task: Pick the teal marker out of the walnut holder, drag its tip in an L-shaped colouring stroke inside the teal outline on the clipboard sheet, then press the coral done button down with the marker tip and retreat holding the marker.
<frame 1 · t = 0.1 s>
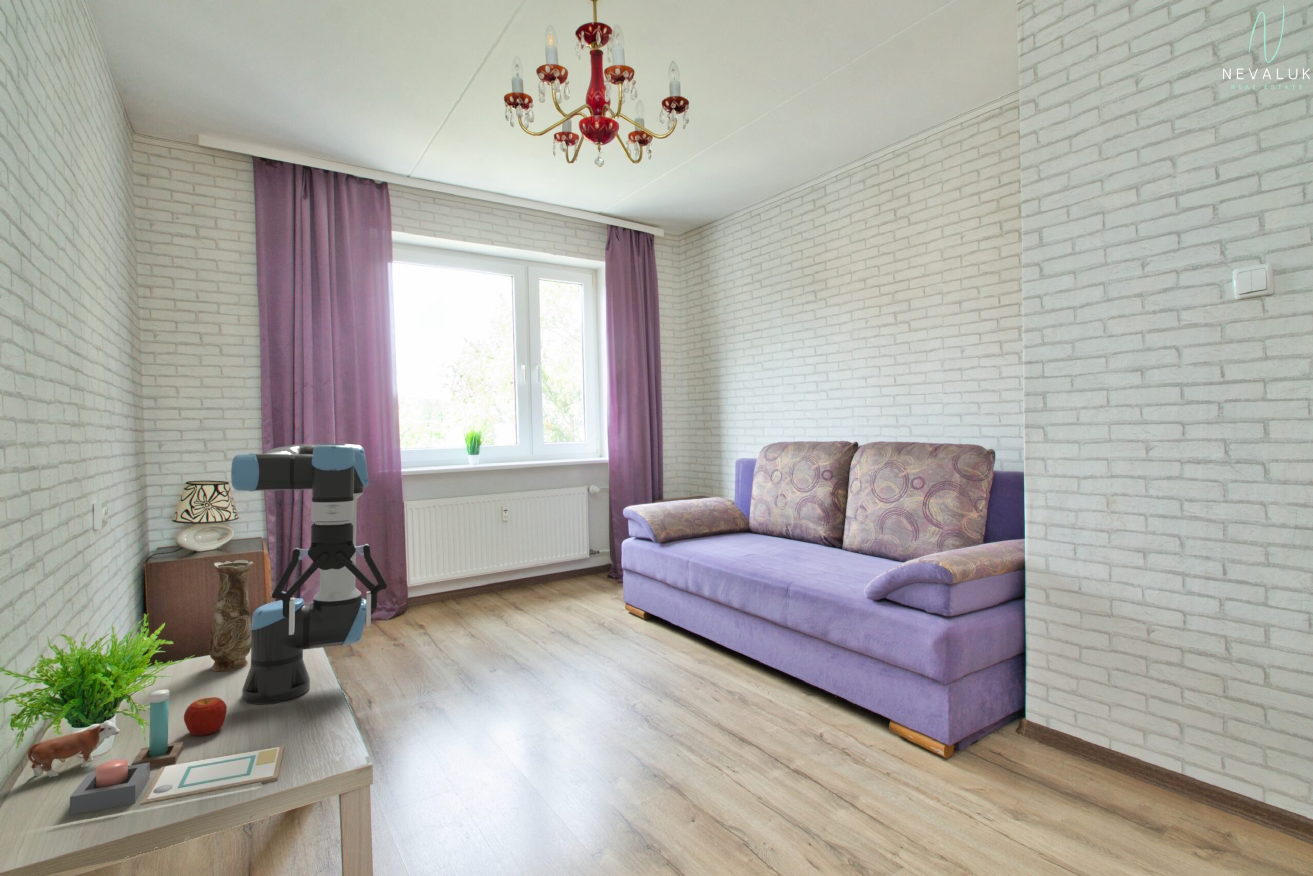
hand: (330, 629, 127), 28 cm above the table, fingers open, 13 cm apart
bull figurine: (74, 770, 126), on the table
button housing: (111, 798, 116), on the table
done button: (112, 773, 116), point 4 cm above the table, slide at 0.0 cm
vase: (230, 666, 184), on the table
apple: (205, 734, 141), on the table
marker holder: (158, 761, 129), on the table
colouring sheet: (218, 775, 124), on the table
marker: (158, 759, 129), resting on marker holder
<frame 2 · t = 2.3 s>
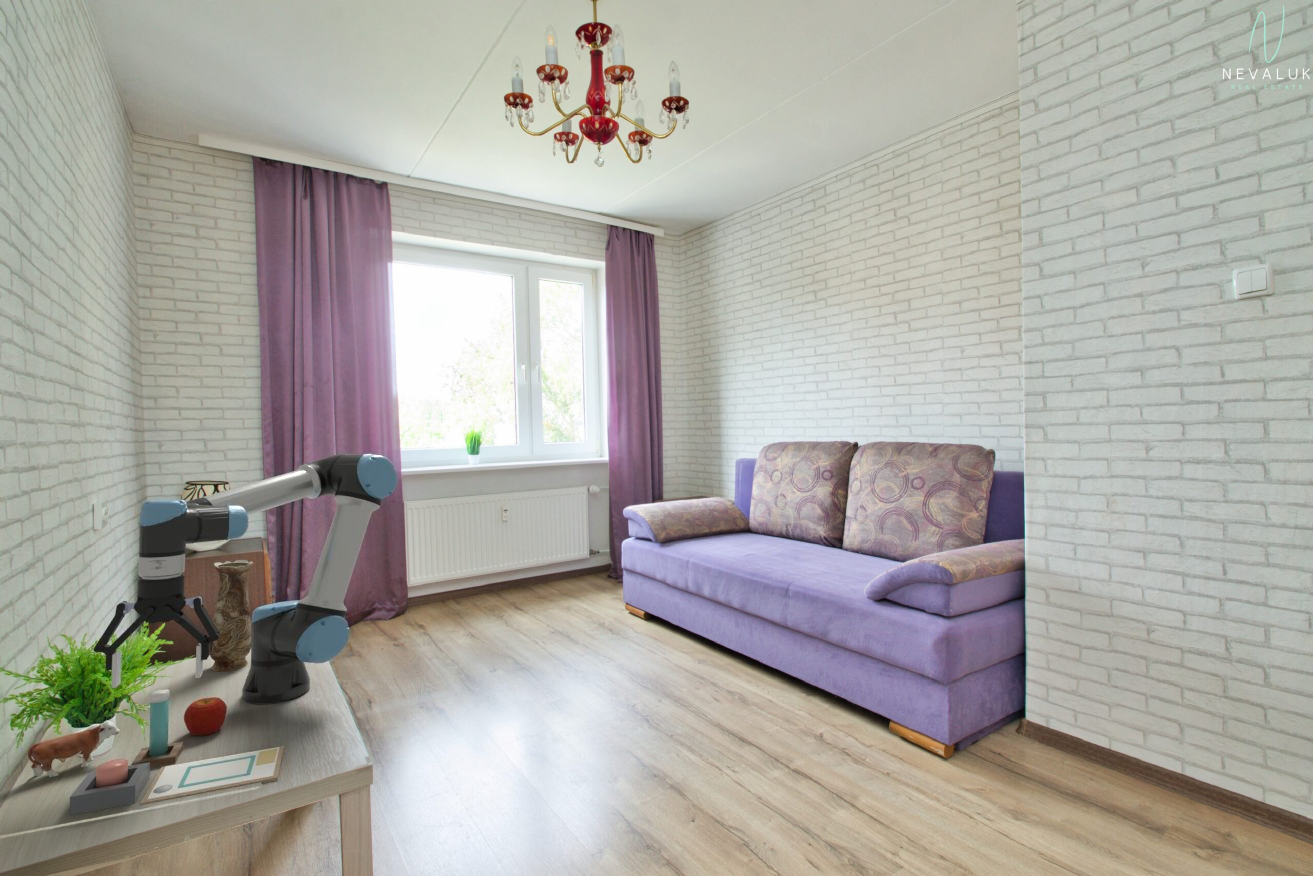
hand: (158, 681, 129), 16 cm above the table, fingers open, 13 cm apart
nothing on the table moved.
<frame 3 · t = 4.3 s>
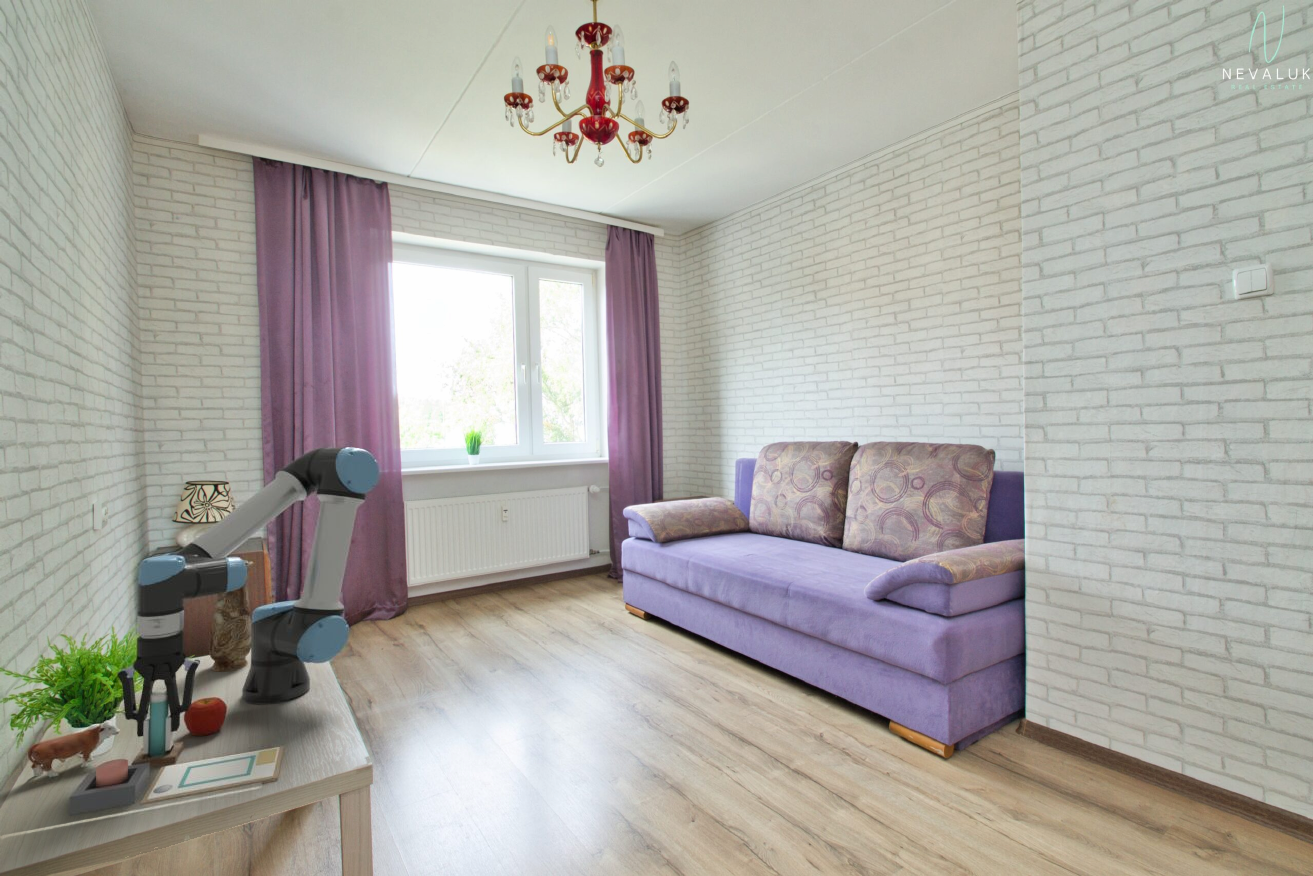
hand: (158, 749, 129), 2 cm above the table, fingers closed on marker, 3 cm apart
marker: (158, 759, 129), resting on marker holder, touching gripper
everything else where it was.
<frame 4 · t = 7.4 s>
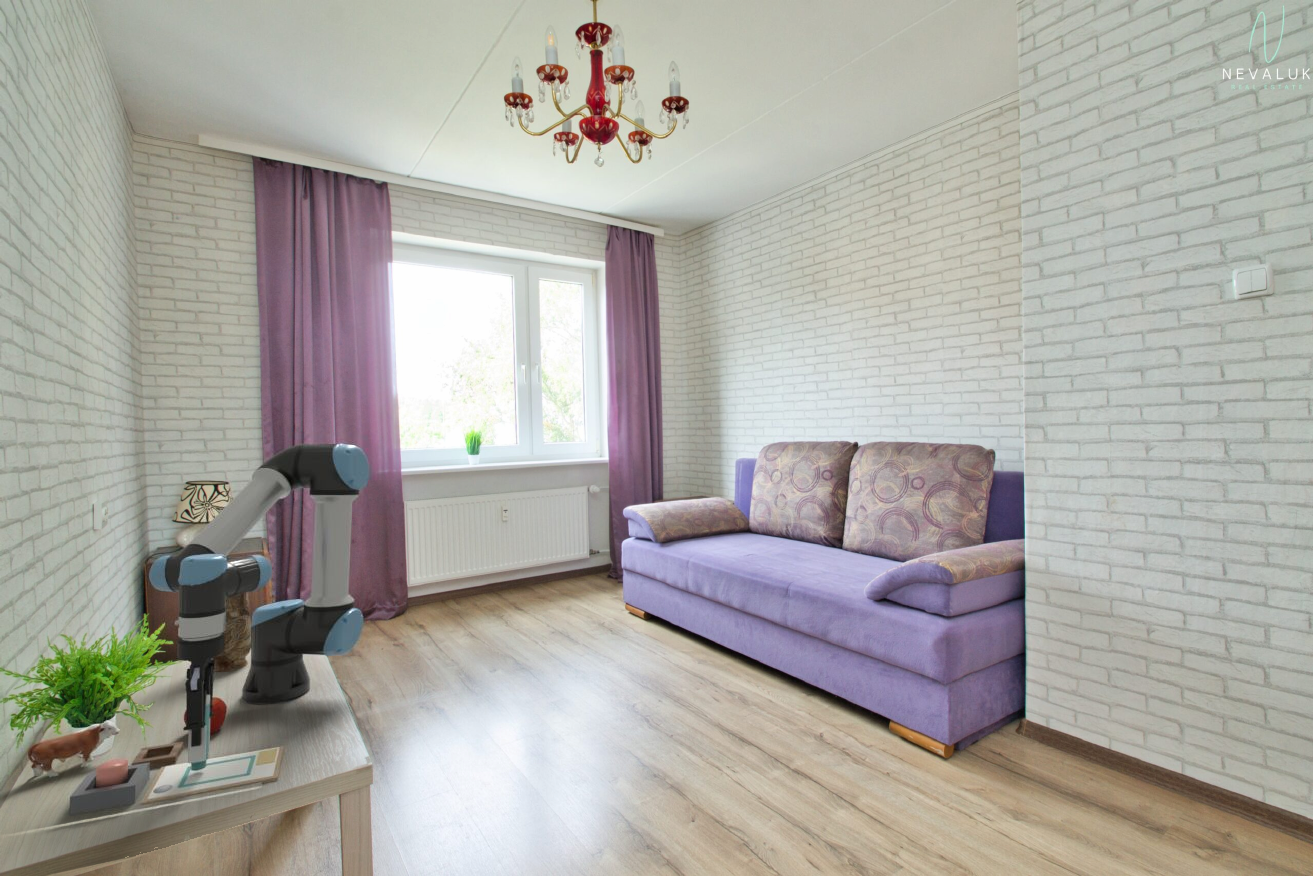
hand: (198, 756, 123), 4 cm above the table, fingers closed on marker, 3 cm apart
marker: (198, 767, 123), point 2 cm above the table, touching gripper
everything else where it was.
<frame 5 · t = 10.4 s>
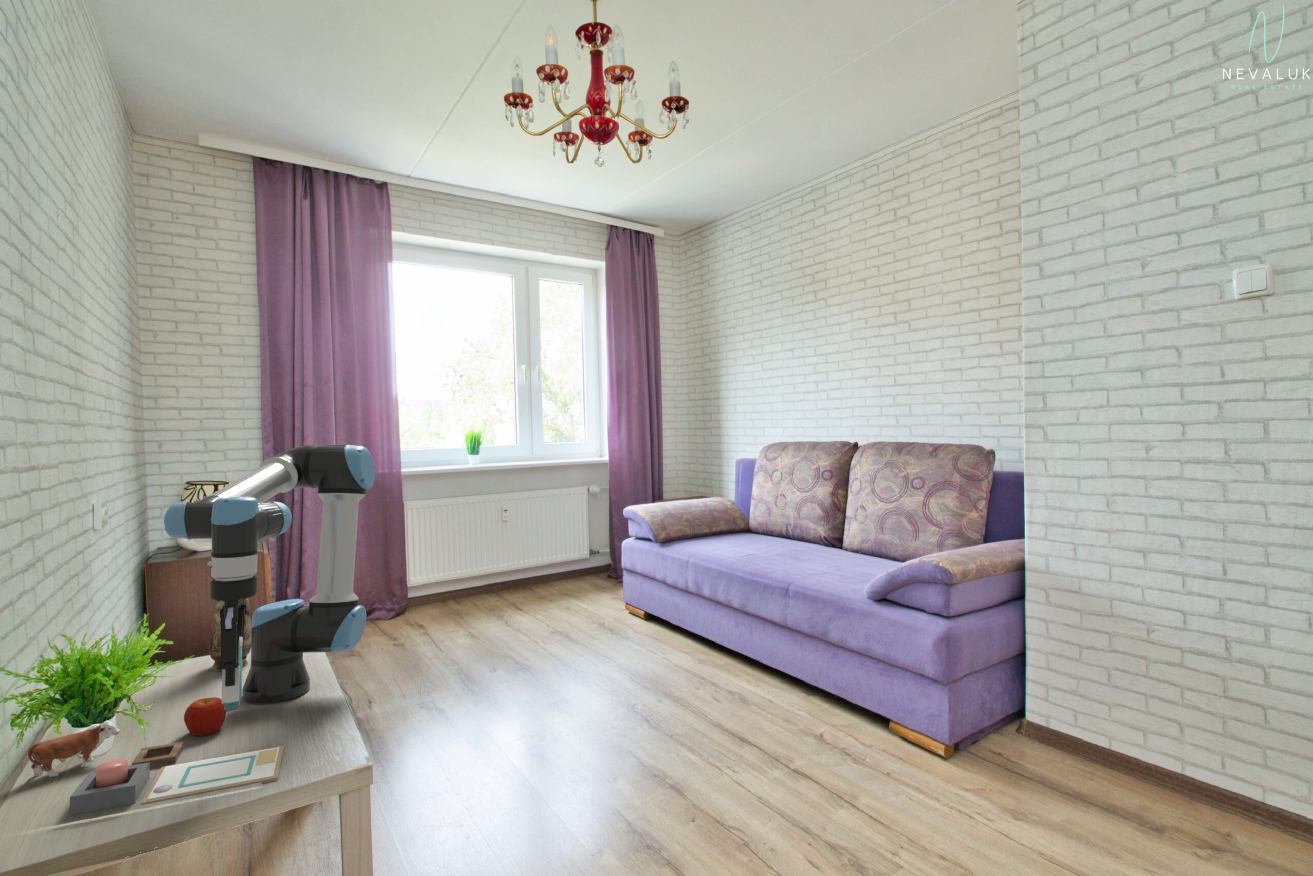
hand: (231, 697, 123), 15 cm above the table, fingers closed on marker, 3 cm apart
marker: (231, 708, 123), point 13 cm above the table, touching gripper
everything else where it was.
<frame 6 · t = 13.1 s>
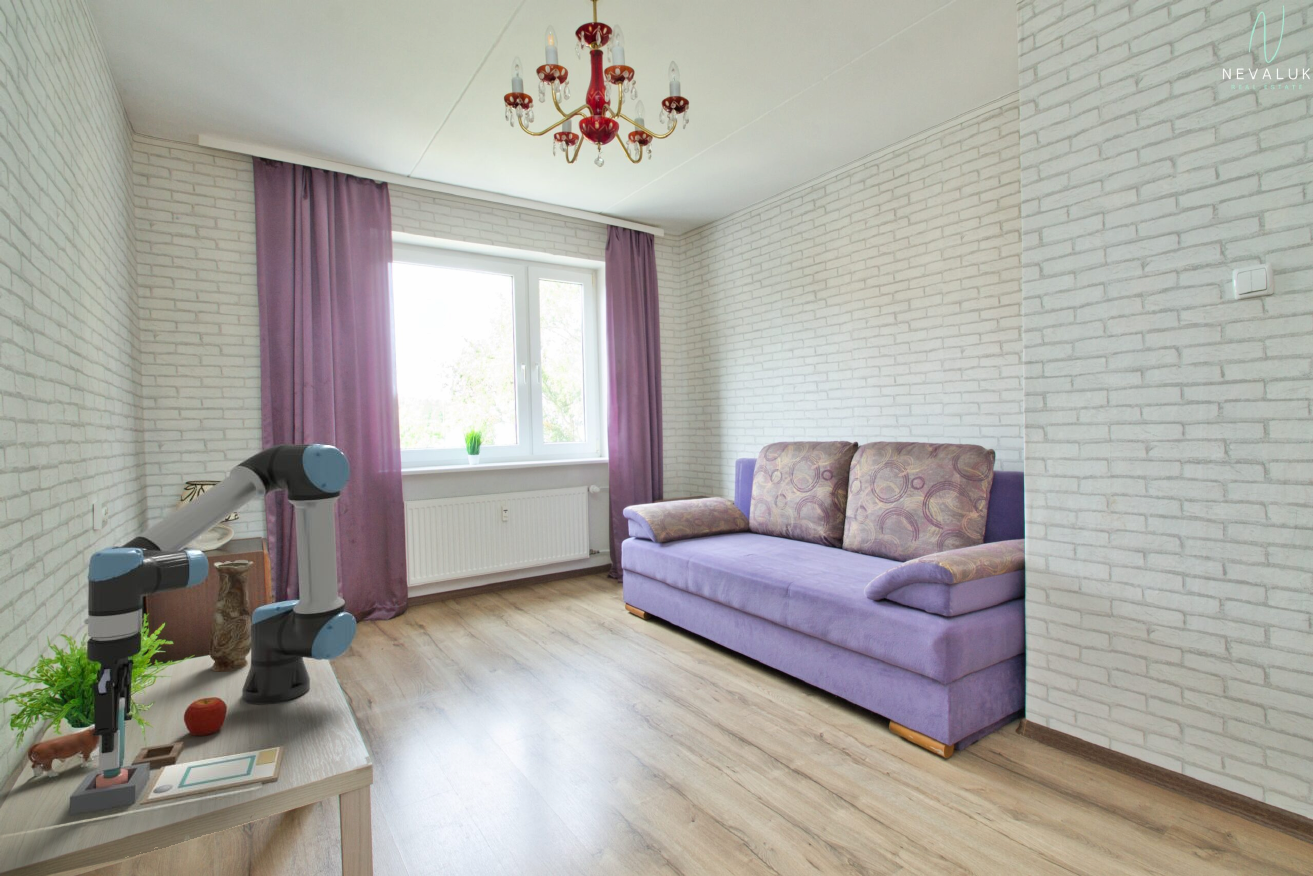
hand: (112, 763, 116), 6 cm above the table, fingers closed on marker, 3 cm apart
done button: (111, 783, 116), point 3 cm above the table, slide at -1.9 cm, touching marker
marker: (112, 775, 116), point 4 cm above the table, touching done button, gripper
everything else where it was.
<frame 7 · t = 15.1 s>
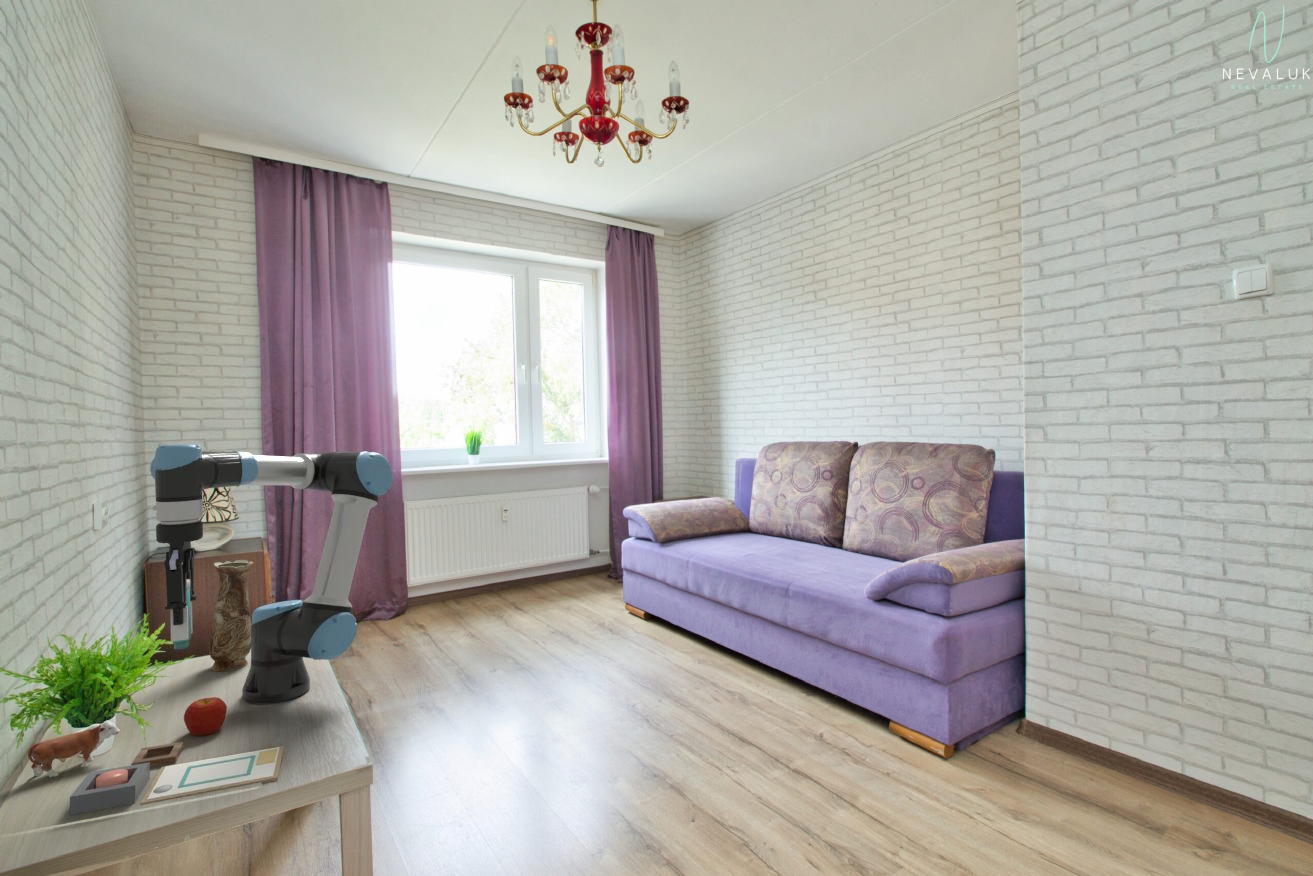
hand: (181, 637, 128), 26 cm above the table, fingers closed on marker, 3 cm apart
done button: (111, 783, 116), point 3 cm above the table, slide at -1.9 cm
marker: (181, 647, 128), point 24 cm above the table, touching gripper
everything else where it was.
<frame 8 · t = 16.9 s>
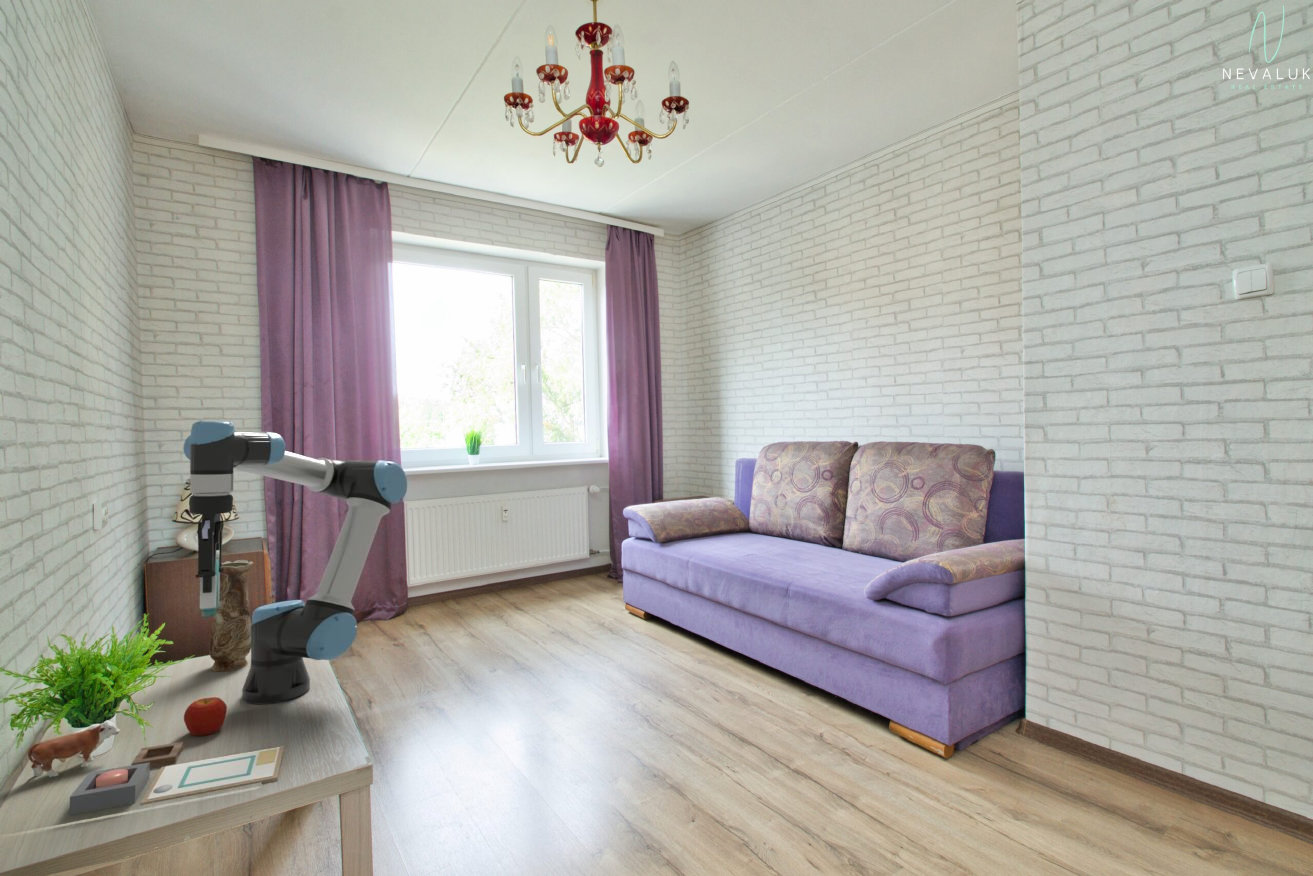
hand: (209, 605, 134), 31 cm above the table, fingers closed on marker, 3 cm apart
marker: (209, 615, 134), point 28 cm above the table, touching gripper
everything else where it was.
at the end: done button slide at -1.9 cm; marker point 28.5 cm above the table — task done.
